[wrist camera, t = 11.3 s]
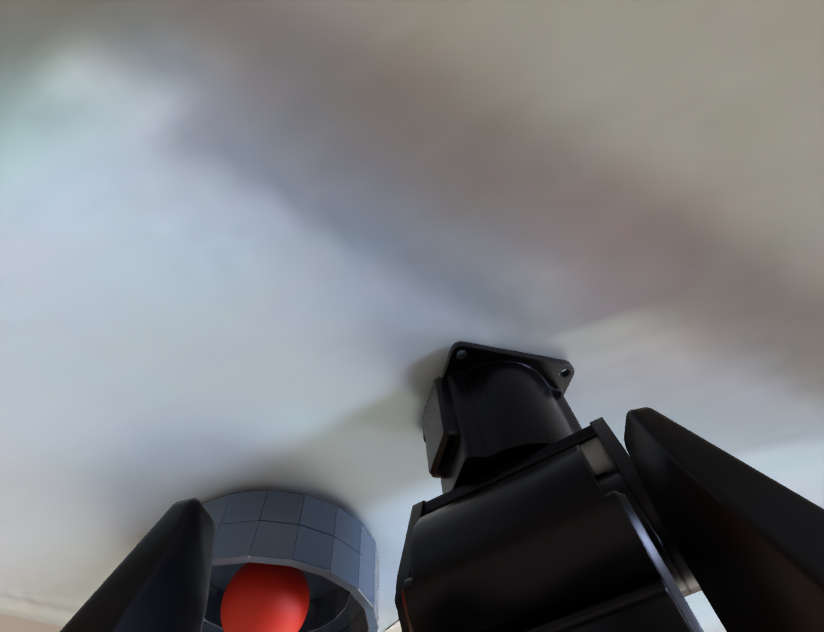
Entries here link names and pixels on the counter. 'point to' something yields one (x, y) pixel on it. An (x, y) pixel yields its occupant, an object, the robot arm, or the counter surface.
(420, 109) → the counter surface
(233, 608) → the tomato
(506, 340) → the counter surface
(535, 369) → the robot arm
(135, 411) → the counter surface
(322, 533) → the bowl
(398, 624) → the napkin holder
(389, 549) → the counter surface
